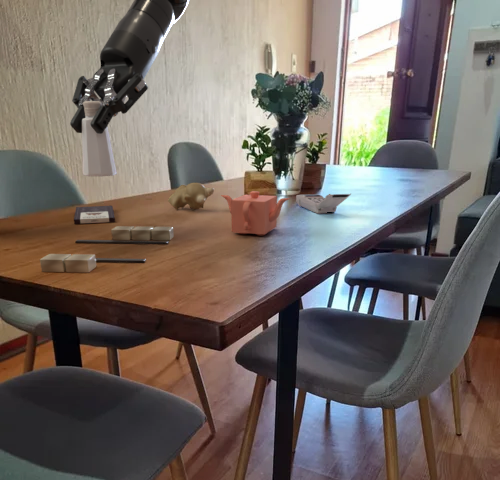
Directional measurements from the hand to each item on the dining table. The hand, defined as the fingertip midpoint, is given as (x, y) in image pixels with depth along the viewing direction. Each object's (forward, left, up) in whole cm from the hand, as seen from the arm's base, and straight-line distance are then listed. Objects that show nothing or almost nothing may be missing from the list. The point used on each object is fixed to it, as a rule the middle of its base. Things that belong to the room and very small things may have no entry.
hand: (85, 129), depth 79 cm
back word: (0, +14, -21) cm, 25 cm away
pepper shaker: (+1, +2, -7) cm, 7 cm away
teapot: (+25, +23, -21) cm, 40 cm away
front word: (+1, -5, -21) cm, 21 cm away
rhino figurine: (+7, +50, -21) cm, 55 cm away
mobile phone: (+41, +51, -21) cm, 68 cm away
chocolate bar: (-15, +39, -21) cm, 47 cm away
